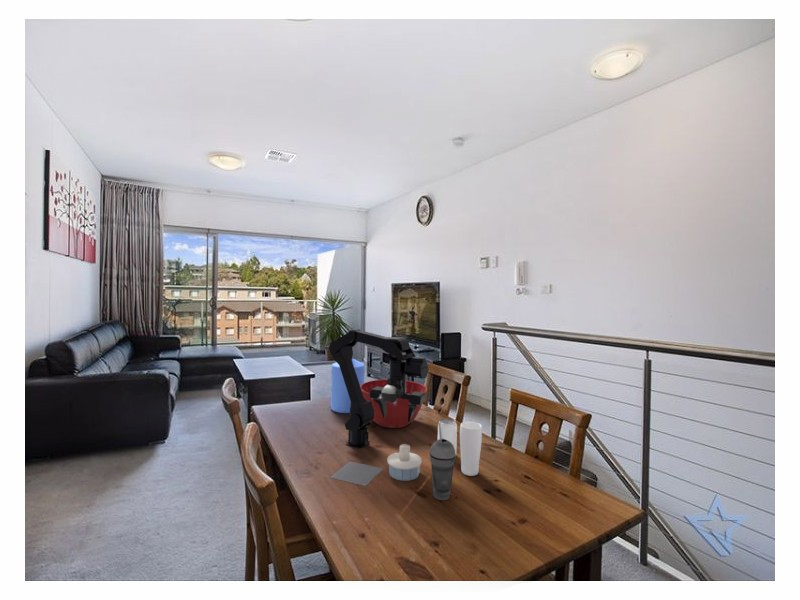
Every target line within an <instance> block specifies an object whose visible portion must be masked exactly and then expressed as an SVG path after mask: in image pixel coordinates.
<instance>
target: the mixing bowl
mask: <svg viewBox="0 0 800 600" xmlns="http://www.w3.org/2000/svg"><path fill="white" fill-rule="evenodd" d="M387 381H388V378H387V379H376V380H375V379H374V380H370V381H366V382H364V383H363V384H362V385H361V386H360V387H361V390H362V393H363V396H364V398H365V400H366V401H367V402H369V401H371V402H372V406H373V409H374V410H375V412H374V418H373V420H372V421H373V422H374V423H376V424H377V425H379V426H380V427H382V428H386V429H399V428H404V427H406V426H408V425H409V424H411V423H413V421H414V420H415V419H416V418H417V416H418V414H419V412H420V410H421V408H422V406H423V403H422V404H421V405H418V406H417V408H416V409H415V412H414V414H413V416H412V419H411V421H410V423H408V412H409V407H408V404H409V403H410V402H409V400H408V399H400V398H398V399H397V400H396V401H395V402H390V401H387V410H386V418H385V419H384V418H383V416H382V413H381V410H380V407H379V405H378V403H377V402H376V401H374V400H373V398H370V390H371V389H373V388H375V387H377V386H378V387H385V386H386V385H387ZM406 389H407V392H406V393H407V394H412V393H413V392H422V393H424V394H425V395H426V393H427V391H428V387H427V386H426V385H424V384H421V383H420V382H416V381H411V380H406Z"/></svg>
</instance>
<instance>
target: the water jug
mask: <svg viewBox="0 0 800 600" xmlns="http://www.w3.org/2000/svg"><path fill="white" fill-rule="evenodd" d="M352 363H353V366H354V369H355V372H356V375H357V378H358V381H359V384H360V386H361V385H362V384H363V383H365V376H366V375H365V374H366V368H365V364H364V363H363V362H361V361H359V360H357V359H354V358H353V357H352ZM330 375H331V386H330V394H331V395H330V399H331V400H330V409H331V410H332V411H333V412H336V413H340V414H350V407H351V401H350V398H349V395H348V391H347V388H346V385H345V382H344V379H343V376H342V373H341V370H340V366H339V364H338V363H337V362H336V361H335V362H334V363H332V364H331V374H330Z"/></svg>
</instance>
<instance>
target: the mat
mask: <svg viewBox="0 0 800 600" xmlns="http://www.w3.org/2000/svg"><path fill="white" fill-rule="evenodd" d="M383 470H384V468H382V467H378V466H374V465H373V466H372V465H369V464H365V463H359V462H355V461H351V460H350V461H349V462H347V463H346V464H345V465H344V466H342V467H341V468H339V470H337V471H336V472H335V473H333V474H332V475H331V476H330V477H329V478H330V479H335V480H339V481H343V482H346V483H351V484H355V485H359V486H363V487H366V486H368V485H369V484H370V482H371V481H373V480H374V479H375V478H376V477H377V476H378V475H379V474H380V473H381V472H382V471H383Z"/></svg>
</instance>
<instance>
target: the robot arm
mask: <svg viewBox="0 0 800 600" xmlns="http://www.w3.org/2000/svg"><path fill="white" fill-rule="evenodd" d="M358 343H361V344H364V345H368V346H371V347H375V348H379V349H381V350H383V352H385V353H386V354H388V355H387V356H385V358H384V359H383V360H384V361H386V362H389V374H388V375H389V376H388V377H389V378H387V379H388V381H387V385H386V386H385V387H378V386H377V387H375V388H373V389H371V390H370V398H373V400H374V401H376V402H377V403H378V405H379V407H380V410H381V413H382V416H383V418H384V419H385V418H386V410H387V401H390V402H395V401H396V400H397V399H398V398H400V399H408V400H409V402H410V403H409V404H408V407H409V412H408V423H410V421H411V419H412V416H413V414H414V412H415V409H416V408H417V406H418V405H421V404H422V405H423V404H424V403H425V402H426V394H424V393H422V392H413V393H412V394H407V393H406V392H407V389H406V381H408V378H416V379H422V380H425V379H427V377H428V374H429V366H428V362H427V358H426V357H416V354H415V352H414V351H413V349H412V348H411V346H410V342H409V341H408V339H407V338H406V337H404V336H403V337H399V336H384V335H379V334H377V333H373V332H372V333H371V332H369V331H365V330H361V329H359V328H357V329H351V330H349V331H348V332H346V333H345V334H343V335H342V336H339V337H338V338H337V339H336V340H331V342H330V344H329V346H328V351H329V354H330V355H331V357H332V360H333V361H334V362H335V363H336V362H337V363H338V364H339V366H340V370H341V373H342V376H343V379H344V382H345V385H346V388H347V391H348V395H349V398H350V401H351V407H350V413H349V415H350V418H349V419H348V420H346V422H345V423H344V427H345V430H346V431H348V434H347V435H348V436H347V437H348V438H347V441H348V442H347V443H345V446H348V447H353V448H357V449H363V448H364V447H366V446H367V445H369V444H370V440H369V438H370V437H369V436H370V435H369V430H368V429H369V426H370V425H371V423H372V421H373V418H374V412H375V410H374V409H373V406H372V402H371V401H369V402H367V401H366V400H365V398H364V396H363V393H362V390H361V387H360V384H359V381H358V378H357V375H356V372H355V369H354V366H353V363H352V358H353V355H354V350H353V348H354V347H355V346H356V345H358ZM410 424H411V423H410Z"/></svg>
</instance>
